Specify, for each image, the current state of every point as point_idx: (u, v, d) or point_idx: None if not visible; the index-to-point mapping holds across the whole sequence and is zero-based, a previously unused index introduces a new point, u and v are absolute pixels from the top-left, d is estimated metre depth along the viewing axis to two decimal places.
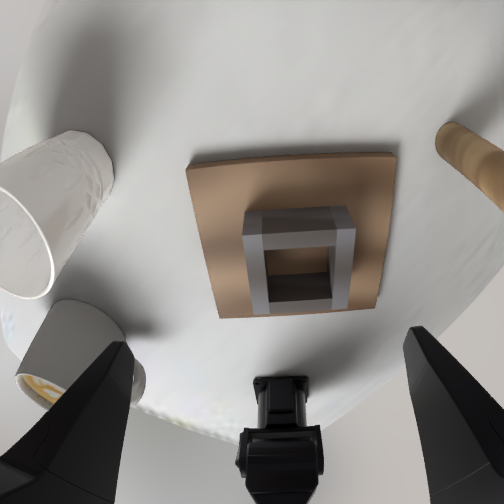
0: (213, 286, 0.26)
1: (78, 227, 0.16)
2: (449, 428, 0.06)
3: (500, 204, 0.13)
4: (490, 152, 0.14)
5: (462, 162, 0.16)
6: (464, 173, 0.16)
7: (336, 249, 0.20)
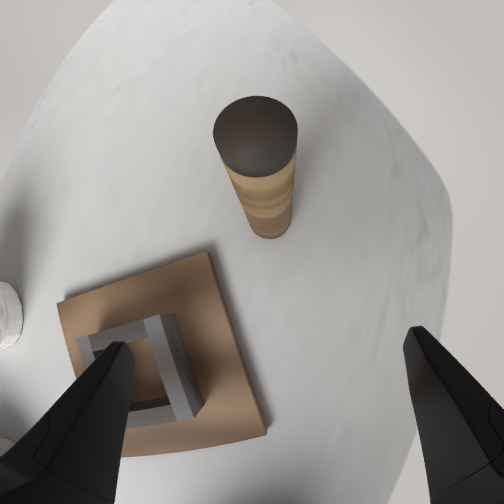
0: None
1: None
2: (449, 428, 0.06)
3: (242, 199, 0.15)
4: None
5: None
6: (252, 221, 0.20)
7: (150, 342, 0.19)
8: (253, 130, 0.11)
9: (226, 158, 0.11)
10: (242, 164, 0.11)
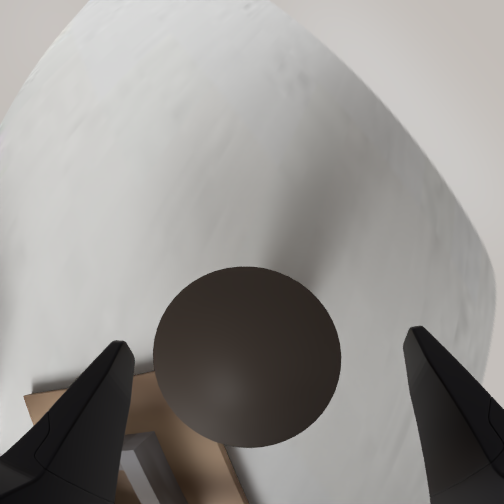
0: None
1: None
2: (449, 428, 0.06)
3: None
4: None
5: None
6: None
7: (127, 474, 0.13)
8: (240, 366, 0.05)
9: (185, 422, 0.05)
10: (218, 442, 0.05)
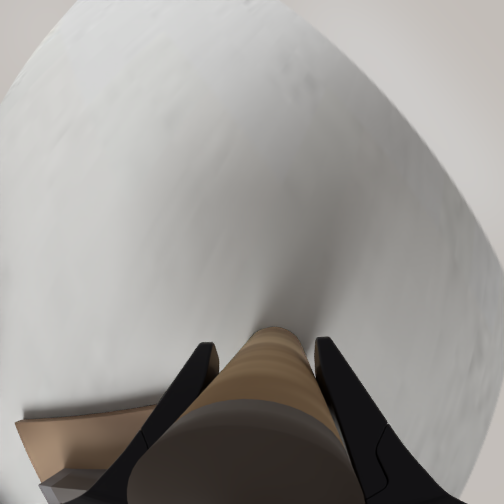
0: None
1: None
2: None
3: None
4: None
5: None
6: None
7: None
8: None
9: None
10: None
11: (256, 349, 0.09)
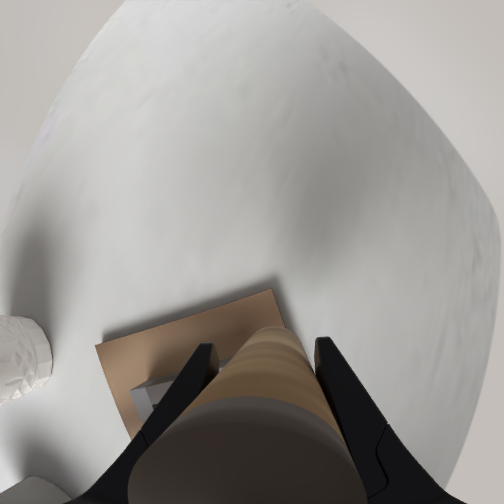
0: None
1: (4, 372, 0.16)
2: None
3: None
4: (234, 355, 0.10)
5: None
6: None
7: None
8: None
9: None
10: None
11: (257, 347, 0.09)
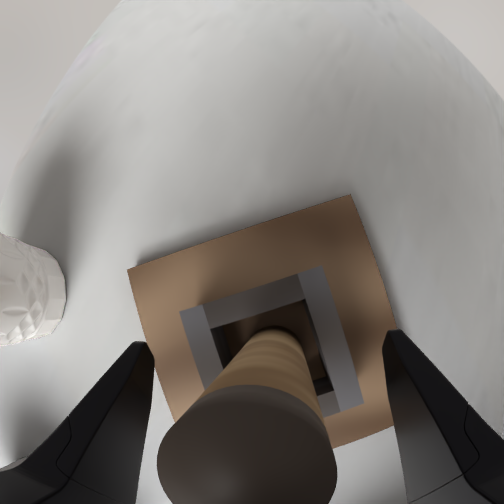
0: None
1: (4, 295, 0.13)
2: (424, 435, 0.06)
3: None
4: (238, 353, 0.12)
5: None
6: None
7: (308, 305, 0.14)
8: (241, 484, 0.04)
9: None
10: None
11: (257, 346, 0.10)
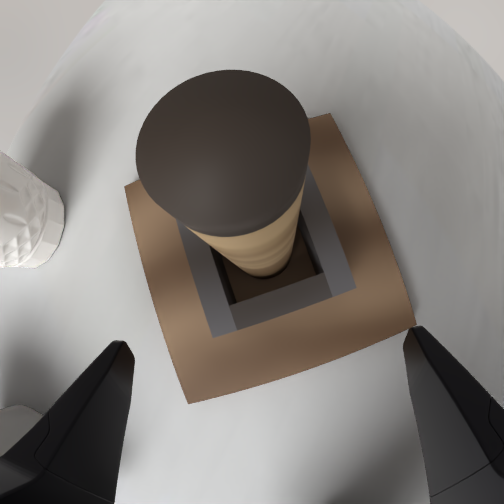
0: (168, 342, 0.18)
1: (7, 200, 0.14)
2: (449, 428, 0.06)
3: None
4: None
5: None
6: None
7: None
8: (215, 140, 0.05)
9: (158, 204, 0.05)
10: (190, 219, 0.05)
11: None
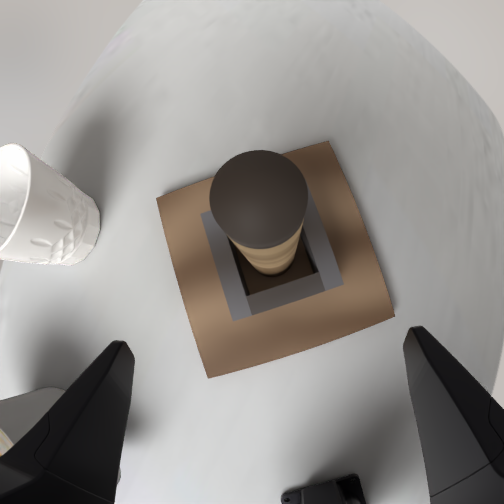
0: (193, 327, 0.22)
1: (58, 208, 0.18)
2: (449, 428, 0.06)
3: (243, 254, 0.14)
4: None
5: None
6: (254, 266, 0.18)
7: None
8: (256, 196, 0.10)
9: (225, 231, 0.10)
10: (243, 240, 0.09)
11: None
